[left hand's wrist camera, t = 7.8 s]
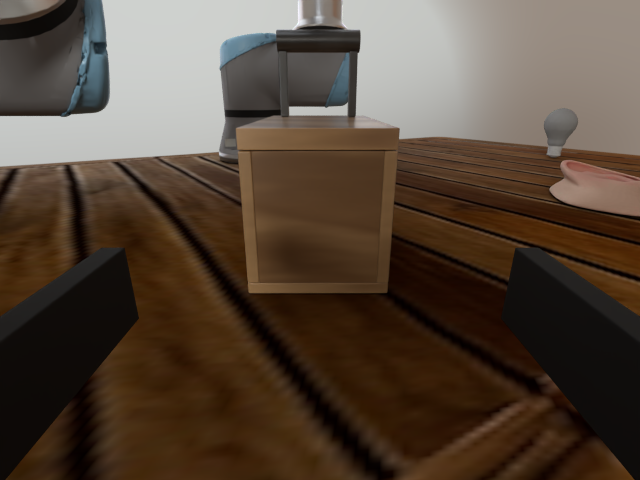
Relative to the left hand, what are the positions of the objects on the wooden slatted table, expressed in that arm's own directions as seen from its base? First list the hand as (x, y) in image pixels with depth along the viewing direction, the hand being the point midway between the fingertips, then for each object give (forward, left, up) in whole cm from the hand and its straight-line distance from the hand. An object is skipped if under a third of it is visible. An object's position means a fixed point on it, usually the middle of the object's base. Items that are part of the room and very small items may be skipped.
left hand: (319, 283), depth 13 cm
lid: (-16, +11, +3) cm, 19 cm away
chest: (-15, +11, -6) cm, 20 cm away
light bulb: (-29, +82, -6) cm, 87 cm away
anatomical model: (-7, +48, -6) cm, 49 cm away
